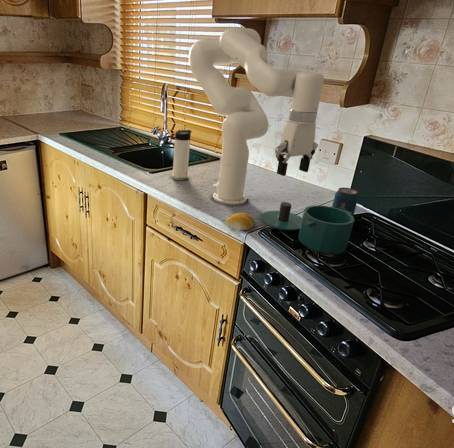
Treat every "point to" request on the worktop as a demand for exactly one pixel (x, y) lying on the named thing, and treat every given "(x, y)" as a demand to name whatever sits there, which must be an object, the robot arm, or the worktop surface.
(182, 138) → the travel mug
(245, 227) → the bread roll
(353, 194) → the soda can
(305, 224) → the pot
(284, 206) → the lid
